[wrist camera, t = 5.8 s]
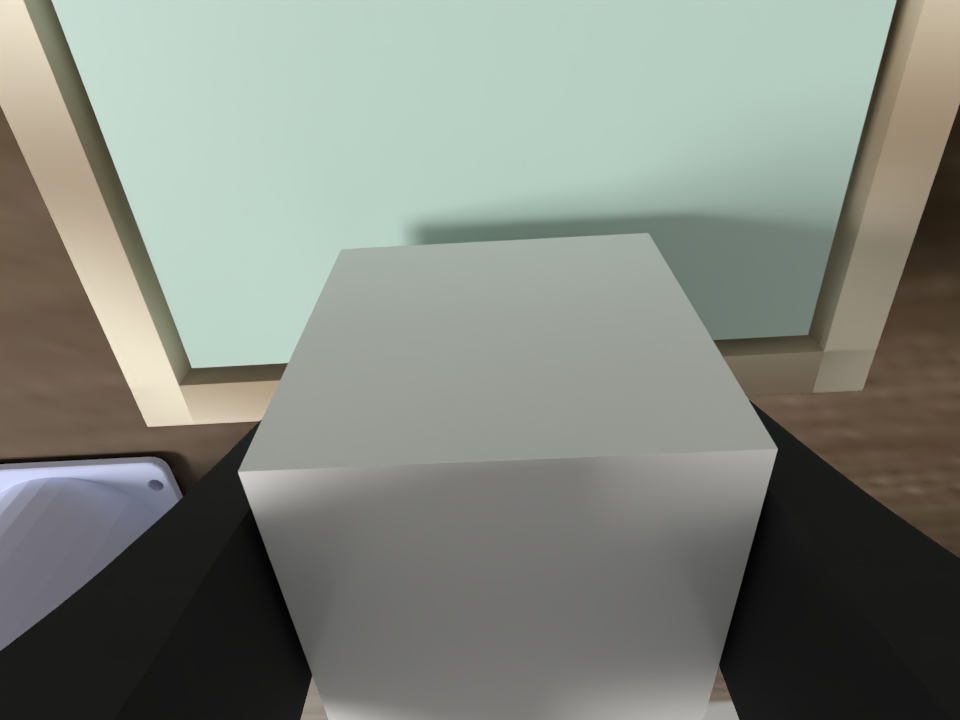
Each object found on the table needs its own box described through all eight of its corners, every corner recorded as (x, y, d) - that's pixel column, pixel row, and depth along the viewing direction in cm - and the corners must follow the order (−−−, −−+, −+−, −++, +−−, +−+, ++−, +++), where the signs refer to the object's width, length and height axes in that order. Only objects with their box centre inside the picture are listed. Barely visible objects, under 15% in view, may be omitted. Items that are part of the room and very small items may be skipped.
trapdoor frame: (67, -263, 12) (-241, -423, 7) (869, -333, 11) (1186, -564, 6) (239, 295, 18) (147, 426, 13) (753, 265, 18) (862, 390, 13)
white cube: (625, 463, 12) (701, 727, 8) (384, 473, 12) (335, 738, 8) (648, 232, 10) (777, 448, 5) (341, 249, 10) (238, 472, 6)
